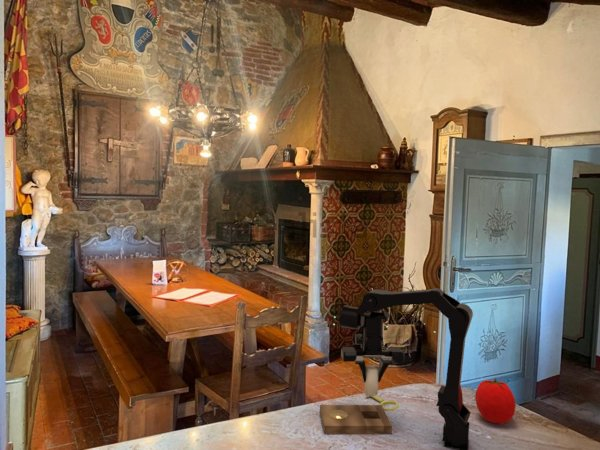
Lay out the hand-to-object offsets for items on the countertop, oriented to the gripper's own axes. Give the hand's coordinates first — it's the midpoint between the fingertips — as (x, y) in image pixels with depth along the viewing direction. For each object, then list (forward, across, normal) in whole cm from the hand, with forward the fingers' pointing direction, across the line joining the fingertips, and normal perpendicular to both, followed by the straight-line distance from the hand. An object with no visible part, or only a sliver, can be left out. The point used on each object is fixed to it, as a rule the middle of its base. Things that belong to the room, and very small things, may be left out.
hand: (371, 381), depth 145 cm
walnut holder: (+13, +5, 0) cm, 14 cm away
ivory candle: (+4, 0, 0) cm, 4 cm away
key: (+14, -7, -14) cm, 21 cm away
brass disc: (+10, +10, 0) cm, 14 cm away
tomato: (+13, -40, -1) cm, 42 cm away
